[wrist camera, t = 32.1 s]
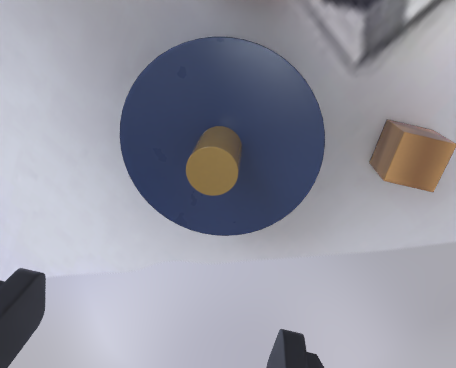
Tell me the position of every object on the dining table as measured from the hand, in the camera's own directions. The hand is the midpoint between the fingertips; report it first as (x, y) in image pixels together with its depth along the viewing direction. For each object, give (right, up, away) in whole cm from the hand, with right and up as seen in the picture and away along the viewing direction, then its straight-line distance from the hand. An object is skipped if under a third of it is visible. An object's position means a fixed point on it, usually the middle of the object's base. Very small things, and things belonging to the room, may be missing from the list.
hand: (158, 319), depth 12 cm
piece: (+19, +8, +23) cm, 31 cm away
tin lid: (+2, +8, +18) cm, 20 cm away
